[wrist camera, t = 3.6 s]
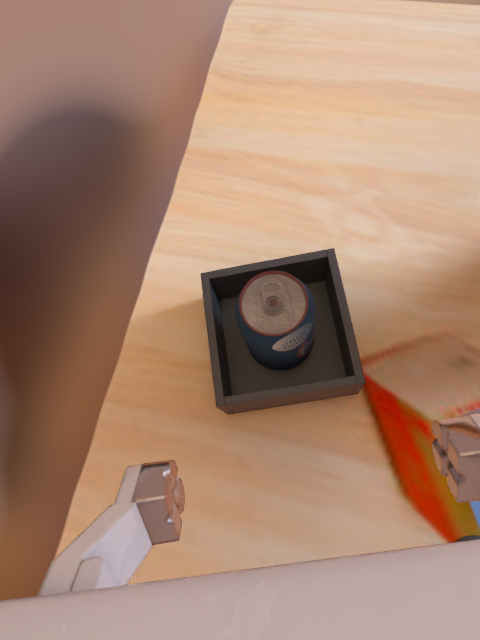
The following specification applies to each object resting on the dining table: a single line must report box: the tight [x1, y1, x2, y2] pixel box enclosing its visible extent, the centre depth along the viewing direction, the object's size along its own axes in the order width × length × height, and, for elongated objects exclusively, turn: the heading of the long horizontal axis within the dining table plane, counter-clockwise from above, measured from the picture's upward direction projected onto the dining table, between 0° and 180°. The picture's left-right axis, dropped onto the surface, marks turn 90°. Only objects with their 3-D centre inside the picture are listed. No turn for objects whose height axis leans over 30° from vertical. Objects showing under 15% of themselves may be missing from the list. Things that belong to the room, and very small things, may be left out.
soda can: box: [235, 271, 315, 370], centre depth 42 cm, size 7×7×12 cm
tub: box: [201, 248, 366, 414], centre depth 45 cm, size 14×14×6 cm
